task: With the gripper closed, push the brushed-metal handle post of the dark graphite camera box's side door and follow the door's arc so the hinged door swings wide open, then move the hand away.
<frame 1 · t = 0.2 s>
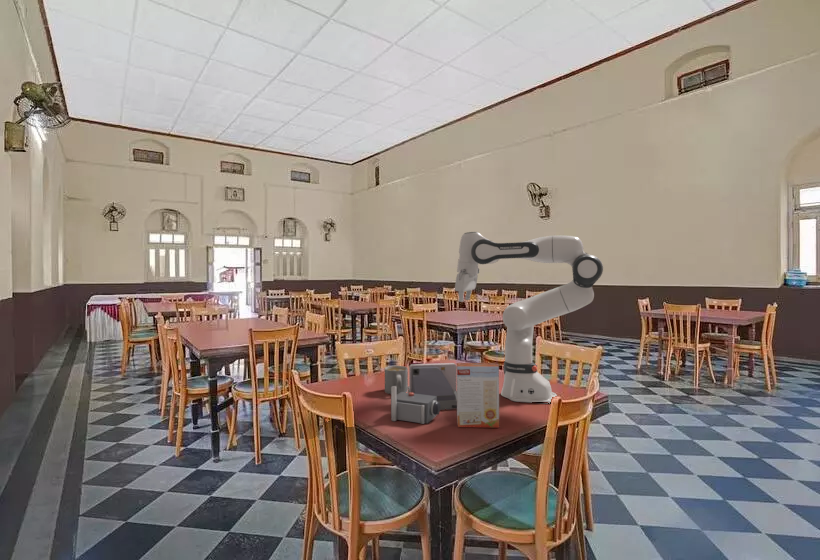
hand: (464, 300, 191), 39 cm above the table, tool pointing down, fingers open, 8 cm apart
instant camera: (434, 403, 173), on the table
side door: (407, 405, 151), point 6 cm above the table, hinge at 0.0°
coffee mug: (396, 392, 188), on the table
camera box: (414, 416, 157), on the table
cracker box: (477, 425, 149), on the table
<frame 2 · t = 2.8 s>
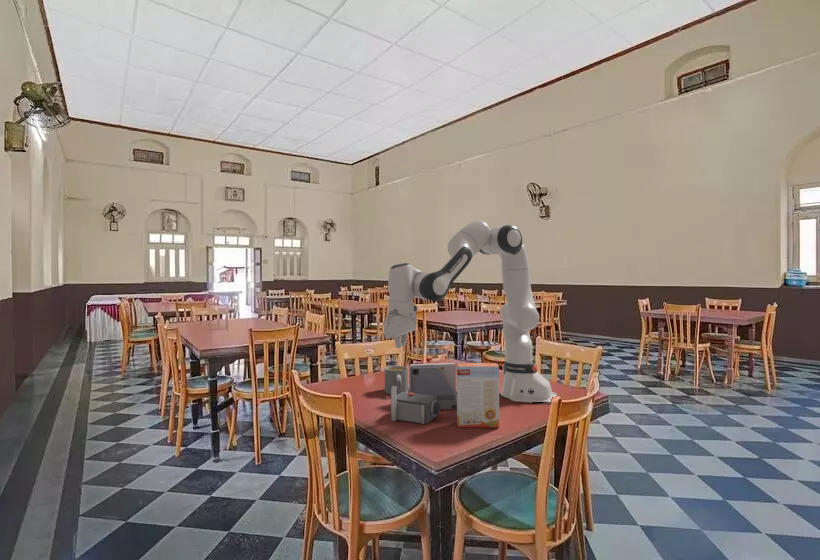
hand: (400, 346, 158), 25 cm above the table, tool pointing down, fingers closed
nothing on the table moved.
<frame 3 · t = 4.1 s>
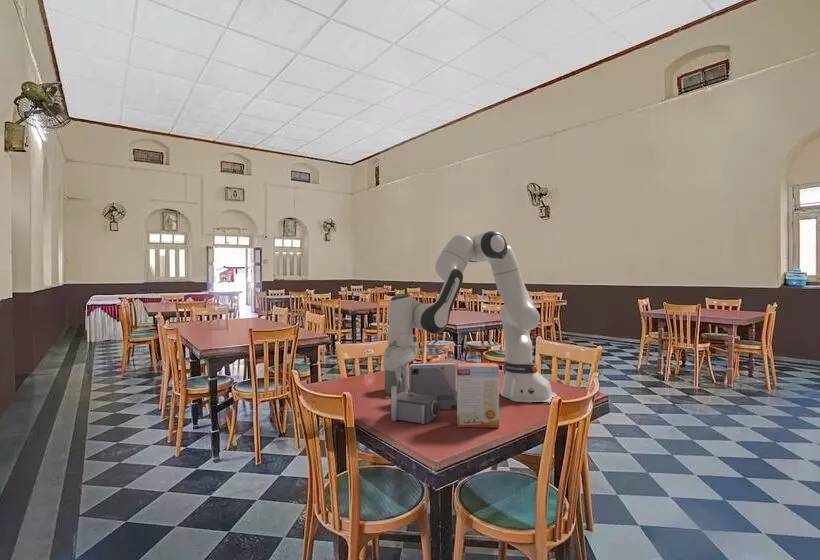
hand: (399, 377, 158), 14 cm above the table, tool pointing down, fingers closed
nothing on the table moved.
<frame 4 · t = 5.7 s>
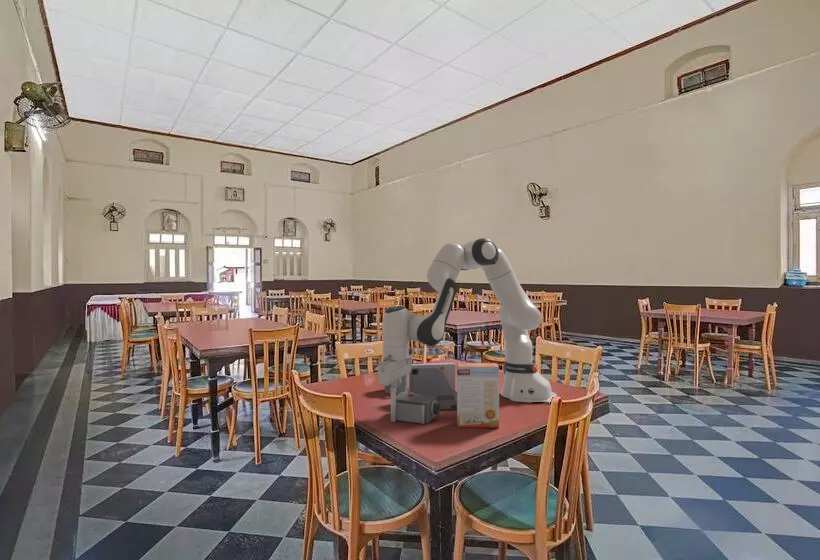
hand: (395, 391, 154), 10 cm above the table, tool pointing down, fingers closed
side door: (407, 405, 151), point 6 cm above the table, hinge at 4.5°, touching gripper
everything else where it was.
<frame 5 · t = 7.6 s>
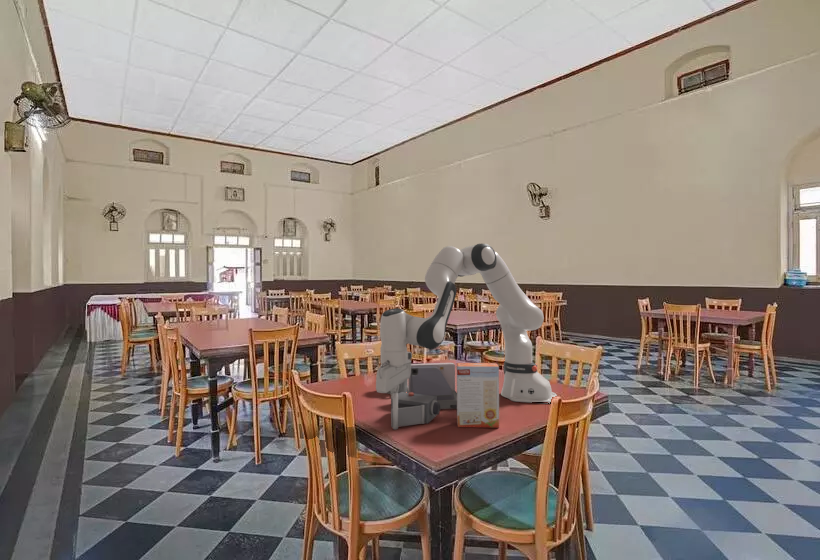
hand: (394, 398, 147), 10 cm above the table, tool pointing down, fingers closed, pressing on side door
side door: (409, 408, 147), point 6 cm above the table, hinge at 44.0°, touching gripper
everything else where it was.
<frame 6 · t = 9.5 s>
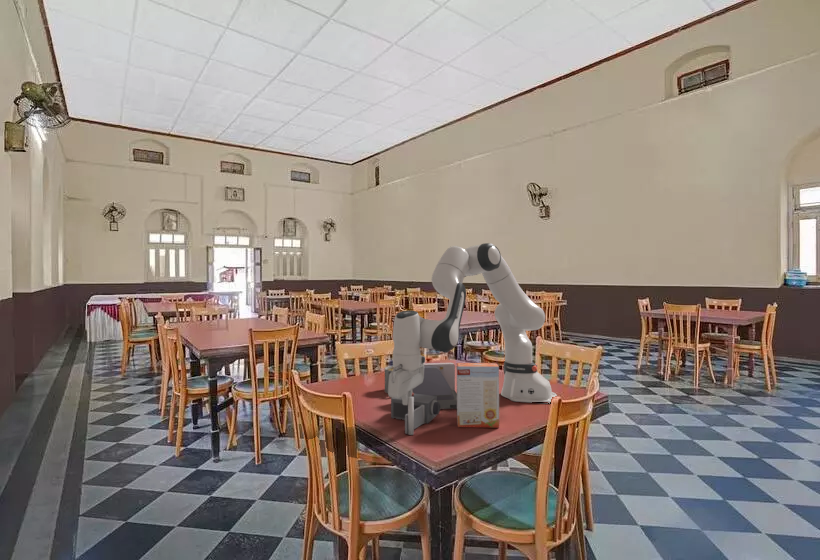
hand: (406, 404, 141), 10 cm above the table, tool pointing down, fingers closed, pressing on side door
side door: (417, 411, 145), point 6 cm above the table, hinge at 83.2°, touching gripper
everything else where it was.
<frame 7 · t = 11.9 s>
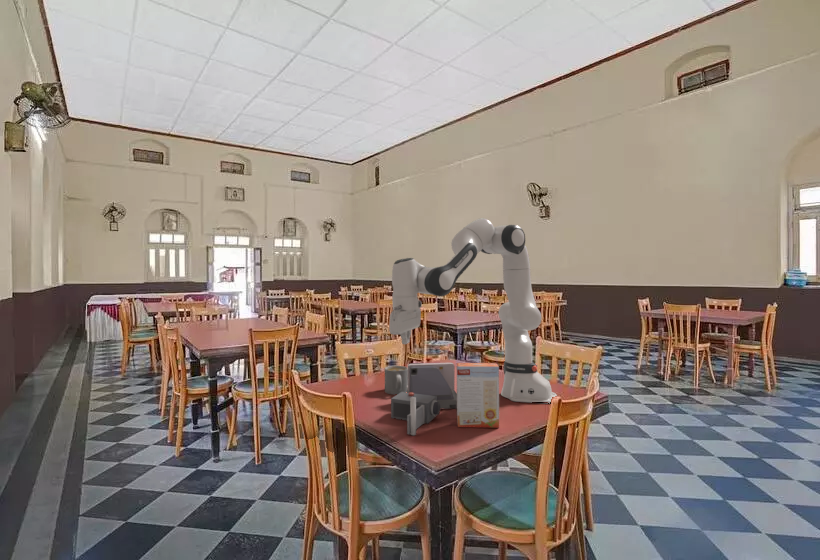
hand: (405, 343, 154), 27 cm above the table, tool pointing down, fingers closed
side door: (418, 411, 145), point 6 cm above the table, hinge at 87.5°
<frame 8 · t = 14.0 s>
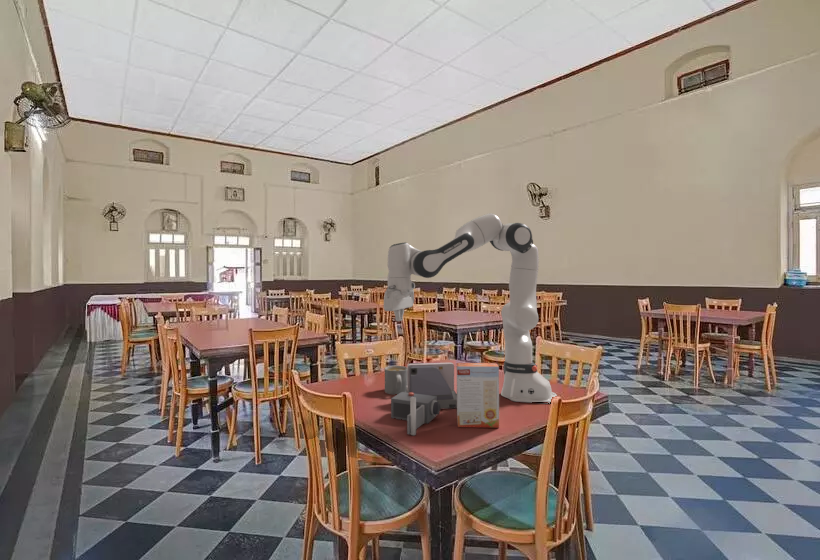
hand: (399, 320, 168), 33 cm above the table, tool pointing down, fingers closed
at the end: side door at +88° (first picture: +0°) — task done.
